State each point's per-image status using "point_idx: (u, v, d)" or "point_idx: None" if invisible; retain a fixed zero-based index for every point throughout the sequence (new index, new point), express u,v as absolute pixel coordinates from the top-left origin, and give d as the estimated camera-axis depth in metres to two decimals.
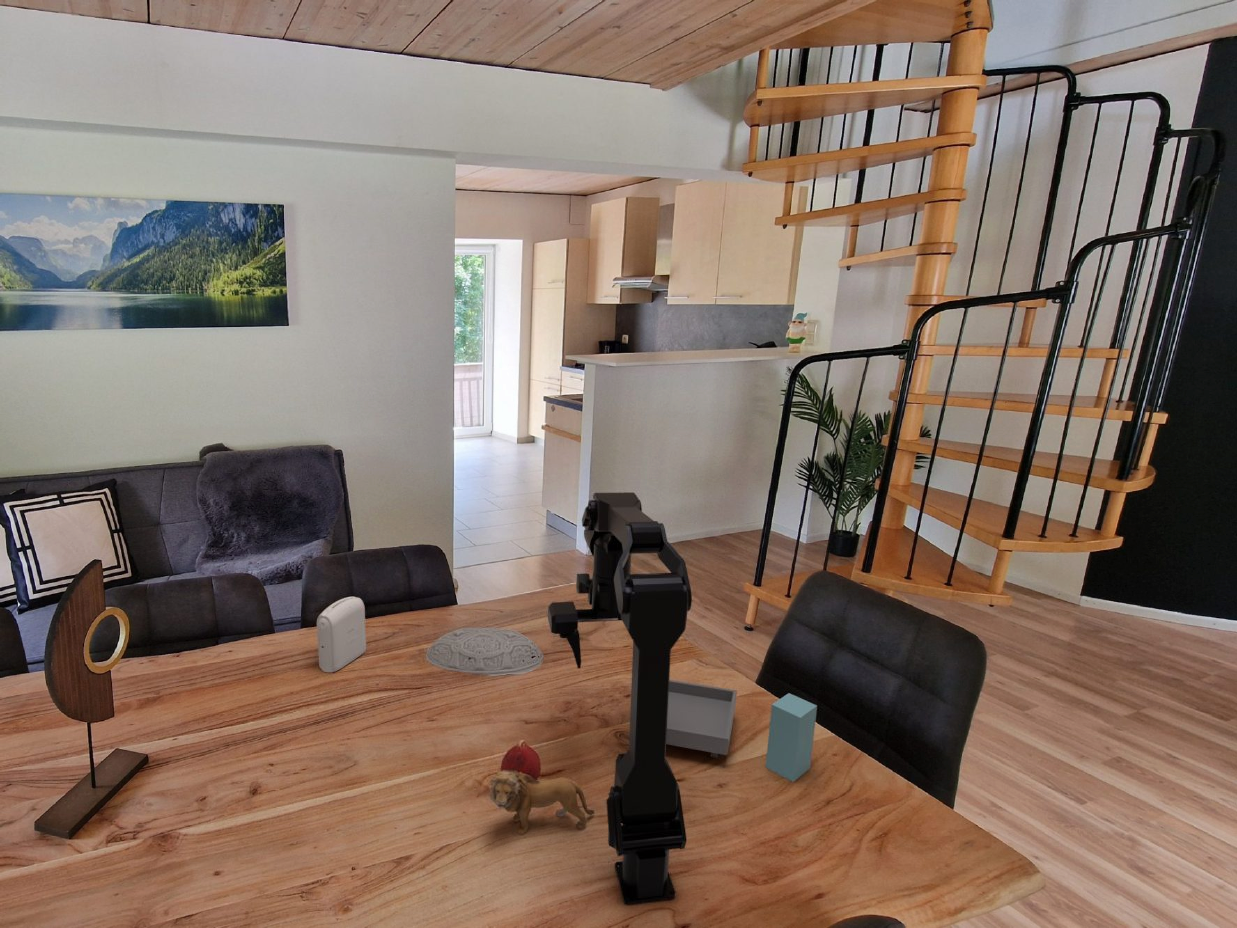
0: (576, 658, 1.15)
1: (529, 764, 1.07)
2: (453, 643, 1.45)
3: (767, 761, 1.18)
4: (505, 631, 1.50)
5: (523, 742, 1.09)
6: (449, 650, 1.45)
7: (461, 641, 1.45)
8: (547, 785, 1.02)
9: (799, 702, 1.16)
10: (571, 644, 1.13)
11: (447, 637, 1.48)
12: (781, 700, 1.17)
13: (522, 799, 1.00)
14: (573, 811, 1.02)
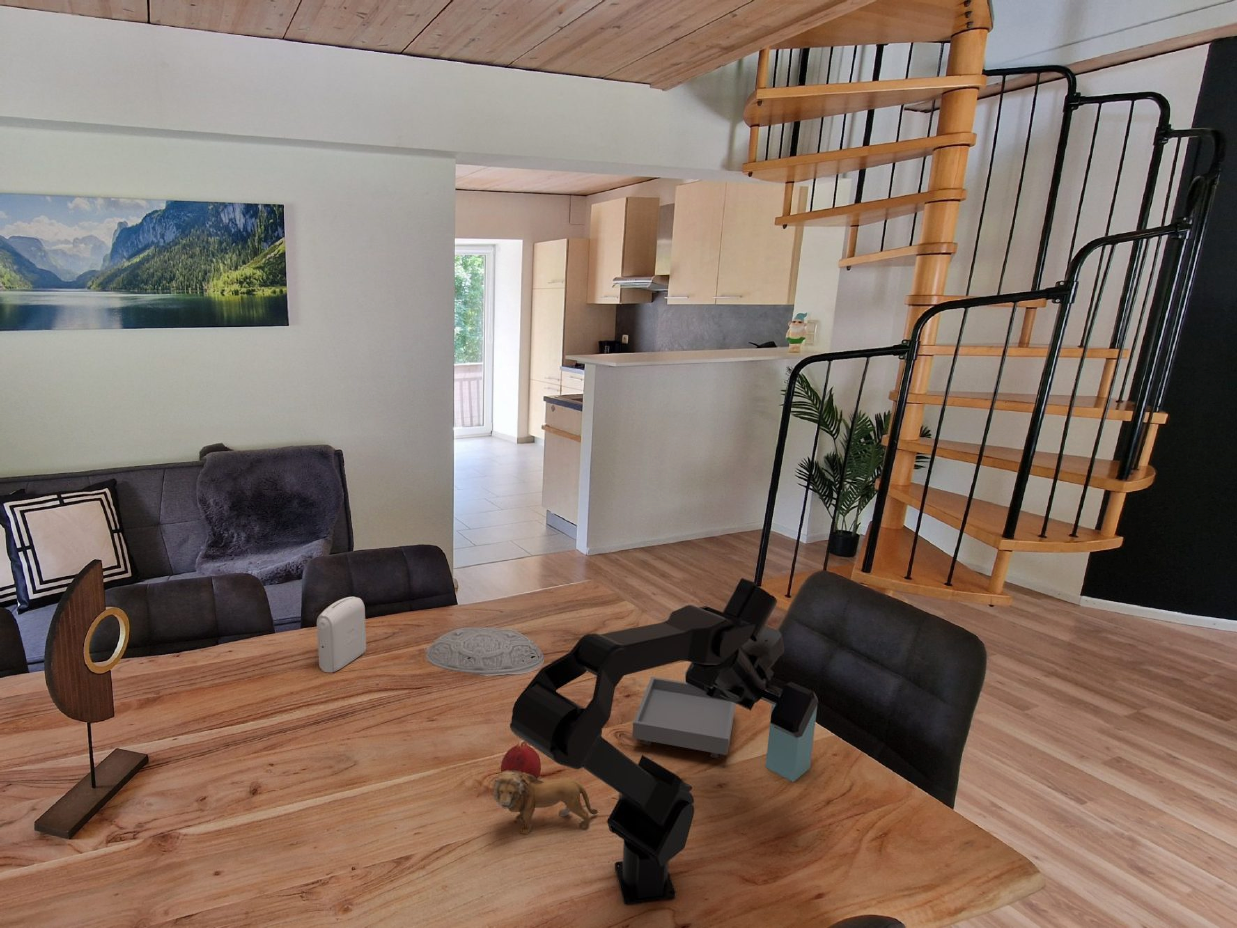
0: None
1: (529, 764, 1.07)
2: (453, 642, 1.46)
3: (767, 761, 1.18)
4: (505, 631, 1.50)
5: (523, 742, 1.09)
6: (449, 649, 1.45)
7: (460, 640, 1.46)
8: (550, 784, 1.02)
9: None
10: None
11: (447, 636, 1.48)
12: None
13: (526, 800, 1.00)
14: (577, 811, 1.02)
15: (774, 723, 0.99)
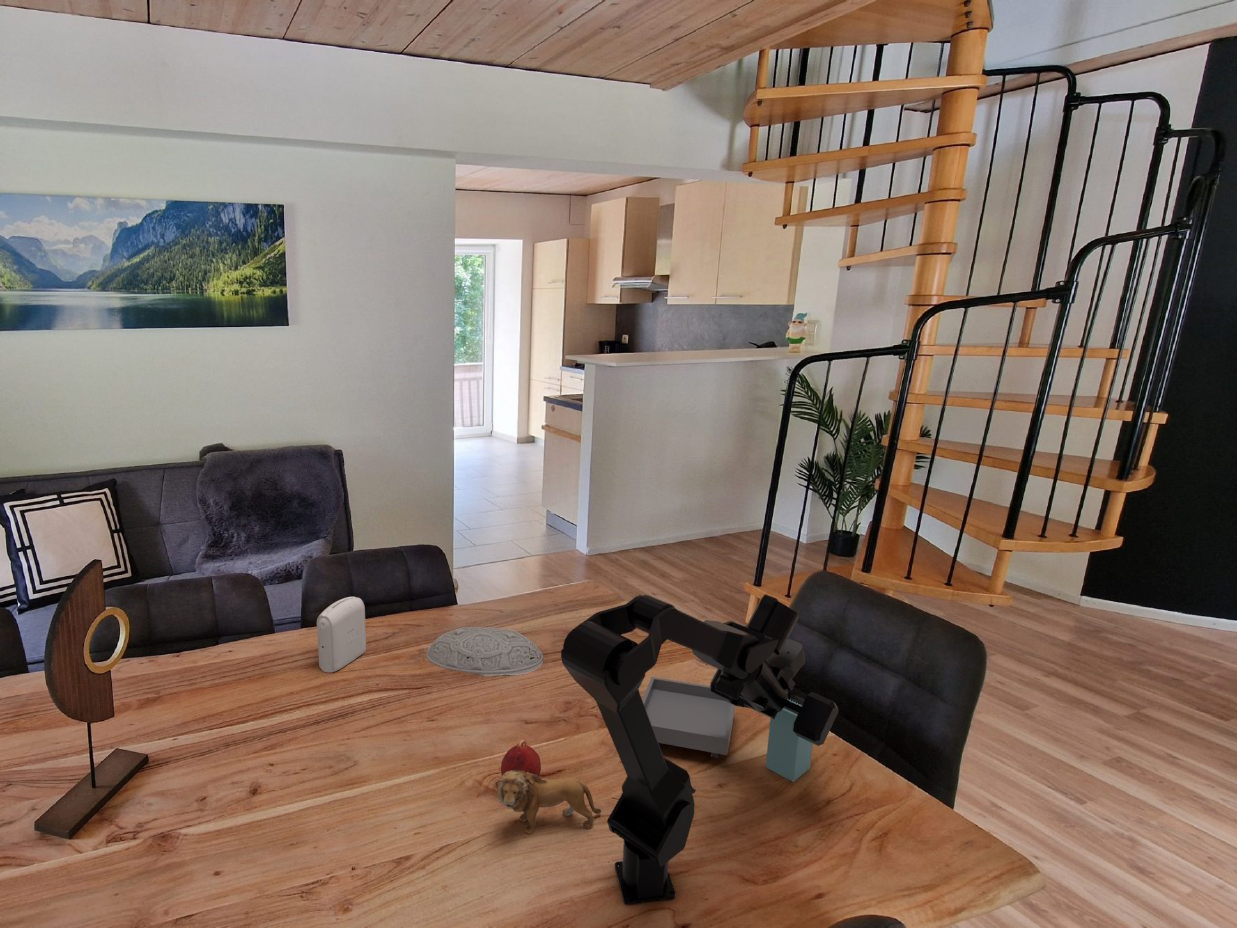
0: None
1: (529, 764, 1.07)
2: (452, 642, 1.46)
3: (767, 761, 1.18)
4: (505, 631, 1.49)
5: (523, 742, 1.09)
6: (448, 648, 1.45)
7: (460, 640, 1.46)
8: (554, 784, 1.02)
9: None
10: None
11: (448, 635, 1.48)
12: None
13: (530, 799, 1.00)
14: (580, 810, 1.02)
15: (797, 732, 1.04)
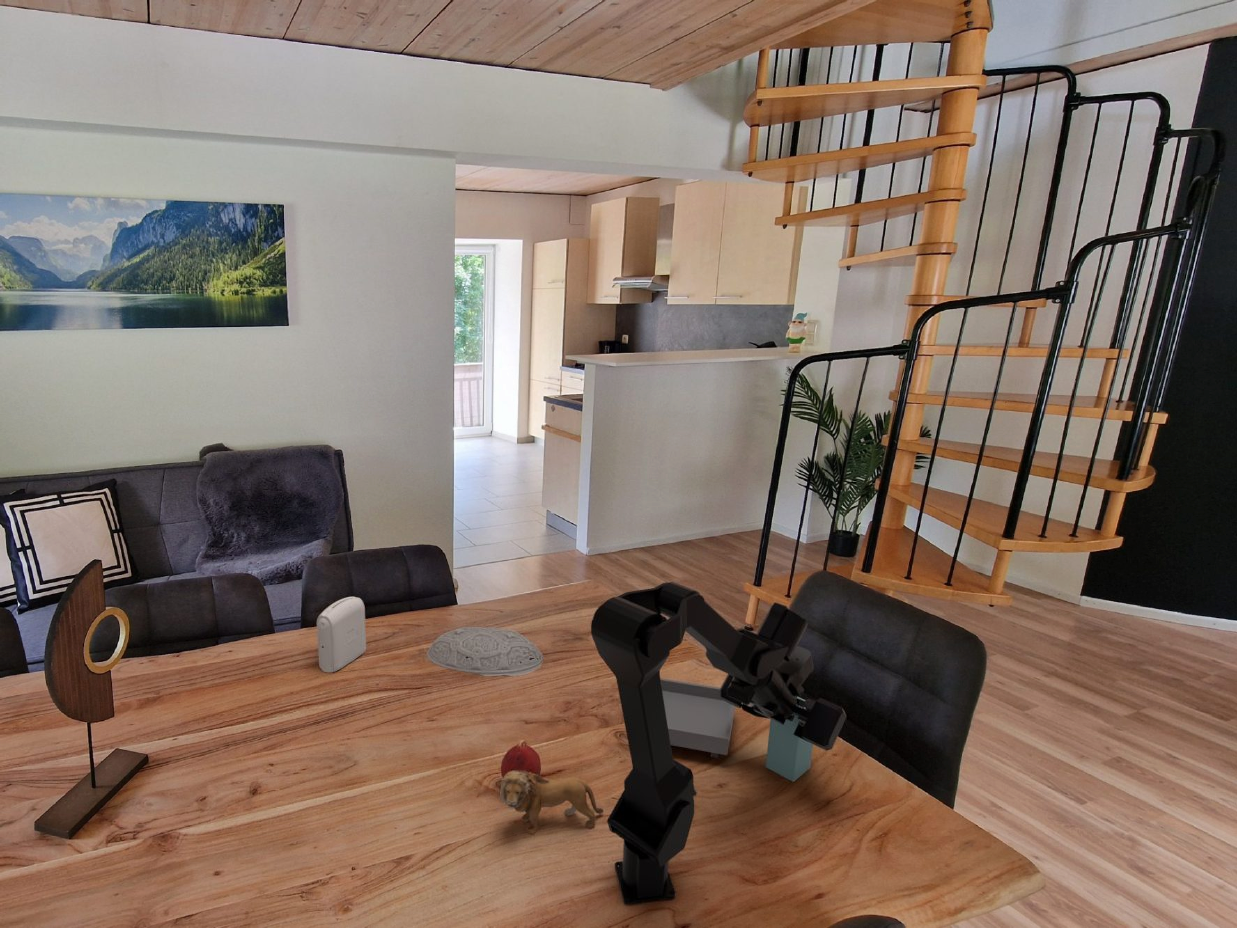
0: None
1: (529, 764, 1.07)
2: (452, 641, 1.46)
3: (767, 761, 1.18)
4: (505, 632, 1.49)
5: (524, 742, 1.09)
6: (448, 648, 1.46)
7: (460, 640, 1.46)
8: (556, 784, 1.02)
9: None
10: None
11: (448, 635, 1.49)
12: None
13: (532, 799, 1.00)
14: (583, 810, 1.02)
15: (805, 737, 1.06)
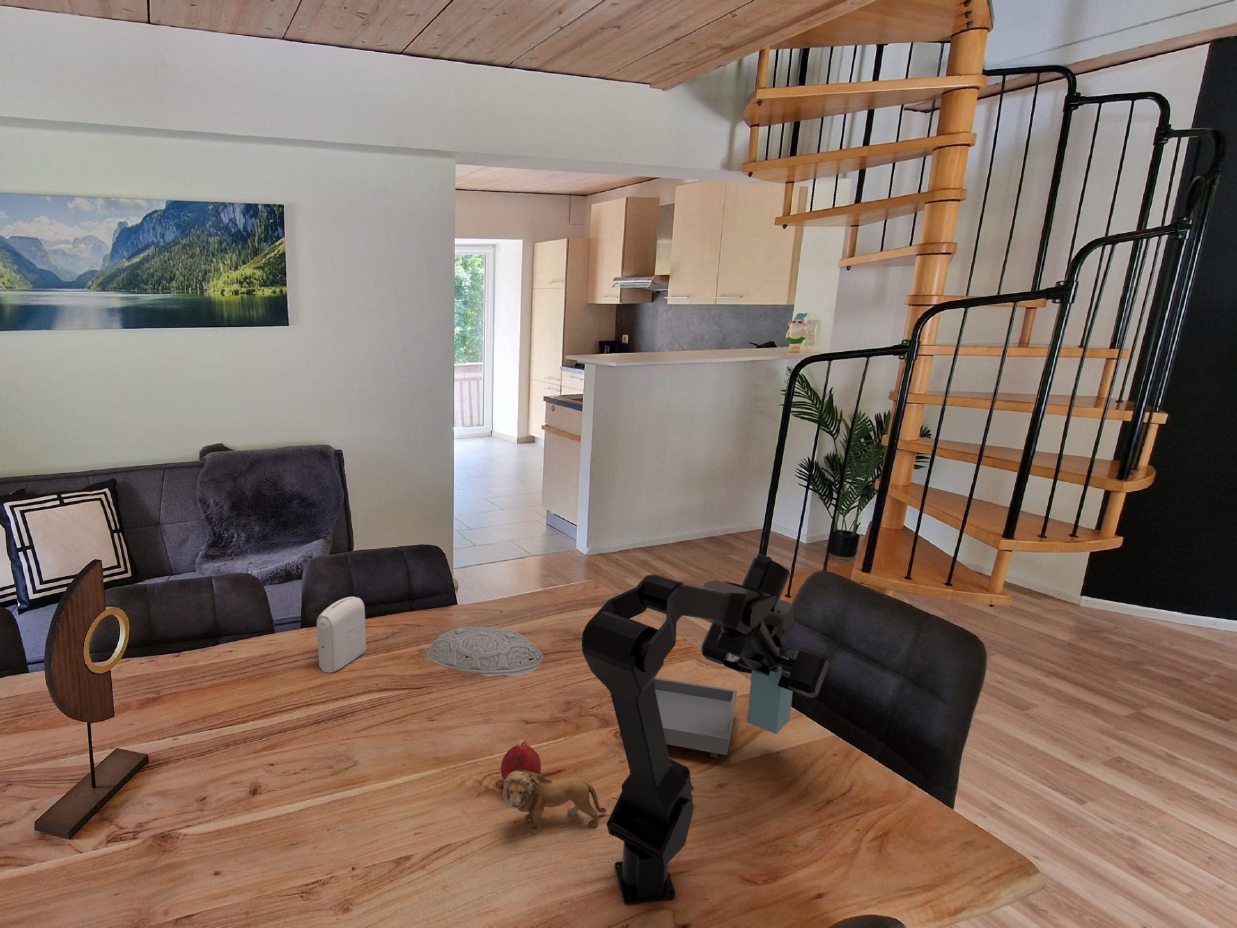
0: None
1: (529, 764, 1.07)
2: (452, 641, 1.46)
3: (748, 716, 1.18)
4: (506, 632, 1.49)
5: (523, 742, 1.09)
6: (448, 647, 1.46)
7: (460, 639, 1.46)
8: (559, 784, 1.02)
9: None
10: None
11: (448, 634, 1.49)
12: None
13: (535, 799, 1.00)
14: (586, 809, 1.02)
15: (791, 686, 1.08)
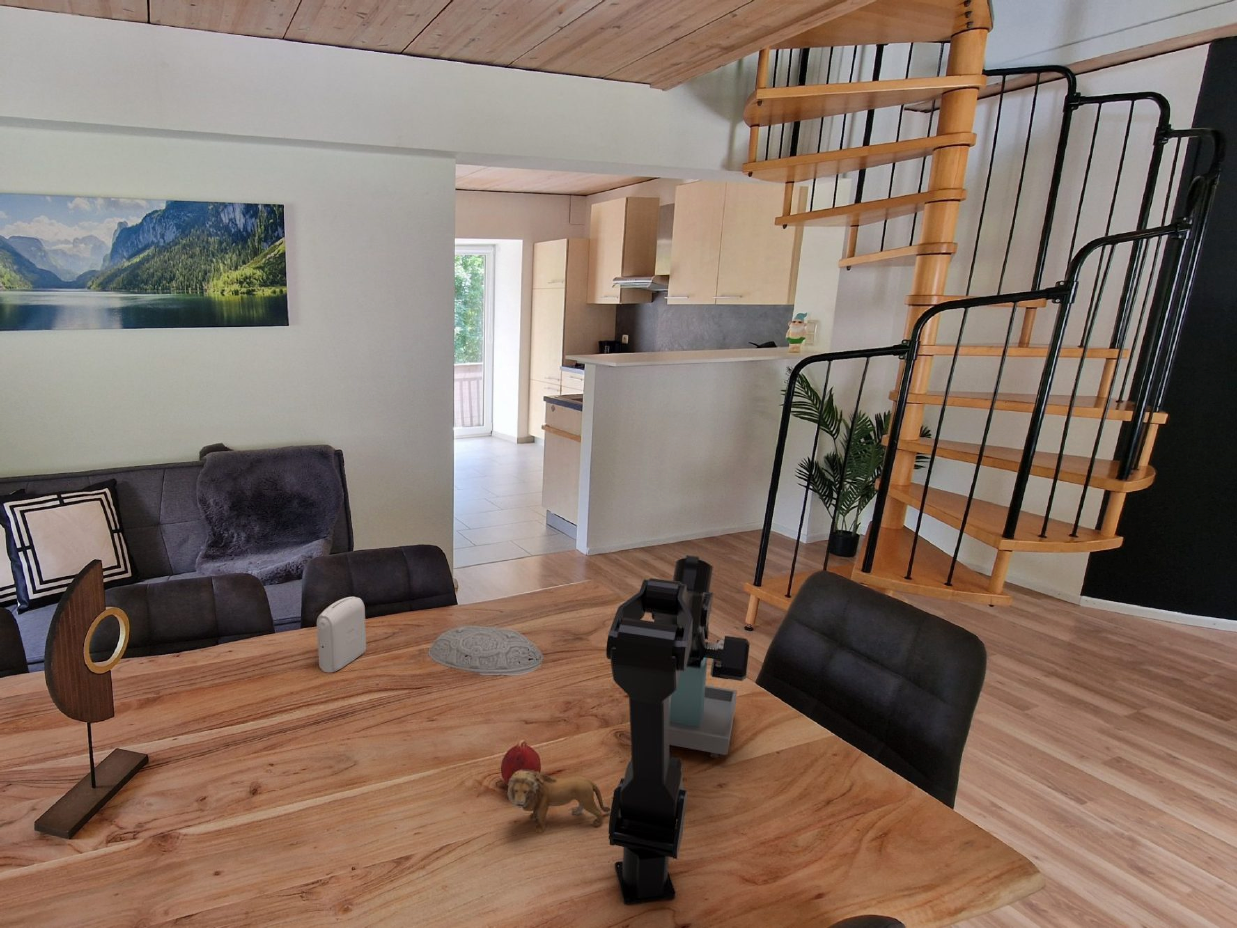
0: None
1: (529, 764, 1.07)
2: (453, 639, 1.47)
3: (671, 715, 1.23)
4: (506, 631, 1.50)
5: (523, 742, 1.09)
6: (448, 646, 1.46)
7: (460, 638, 1.47)
8: (564, 783, 1.02)
9: None
10: None
11: (449, 633, 1.50)
12: None
13: (540, 799, 1.01)
14: (590, 809, 1.03)
15: (724, 673, 1.14)
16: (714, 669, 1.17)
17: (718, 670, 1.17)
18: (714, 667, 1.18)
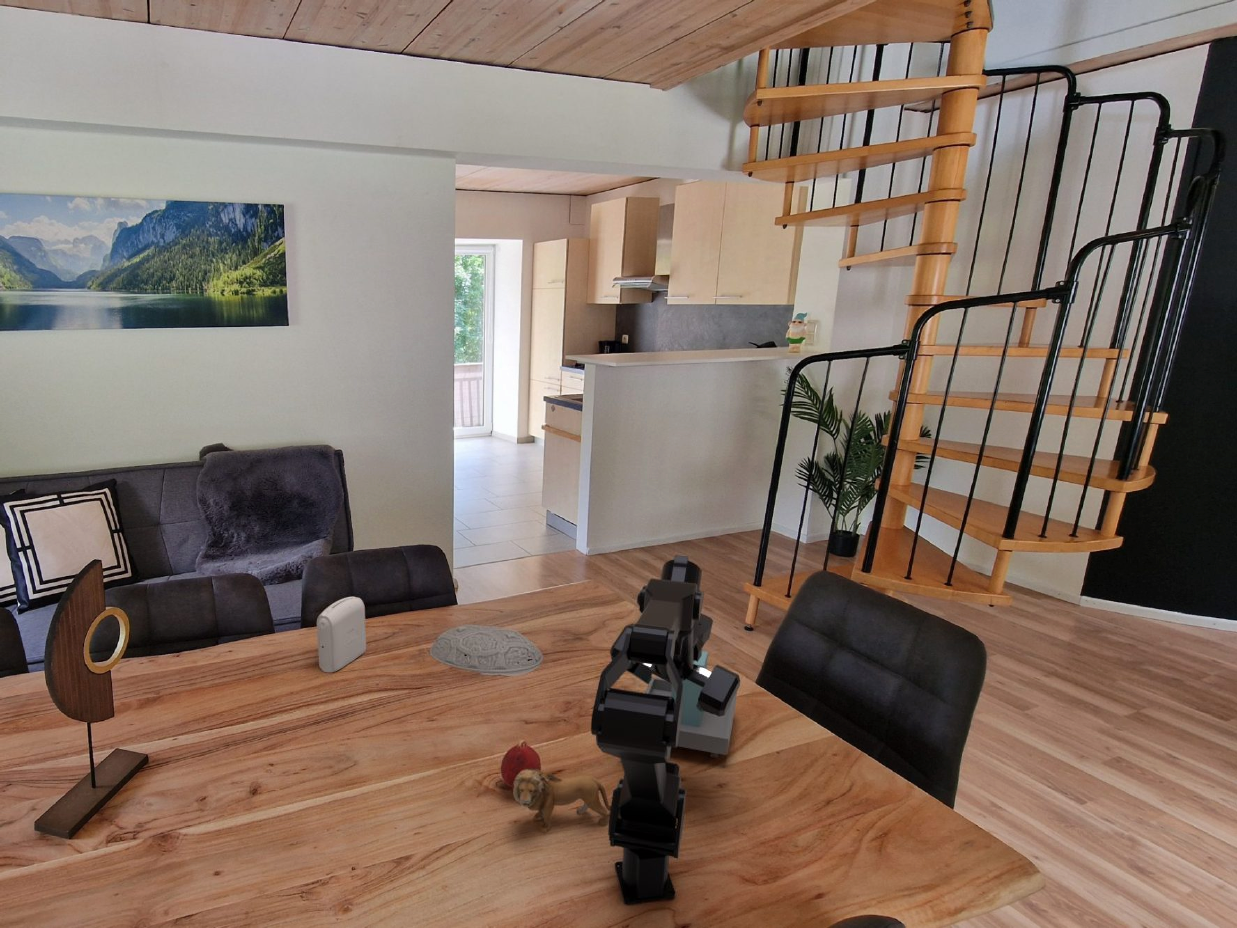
0: (640, 679, 1.15)
1: (529, 764, 1.07)
2: (453, 638, 1.47)
3: None
4: (506, 631, 1.50)
5: (523, 742, 1.09)
6: (448, 645, 1.47)
7: (460, 637, 1.47)
8: (569, 782, 1.03)
9: None
10: (630, 672, 1.12)
11: (450, 632, 1.50)
12: None
13: (545, 798, 1.01)
14: (595, 808, 1.03)
15: (702, 700, 1.04)
16: None
17: None
18: None
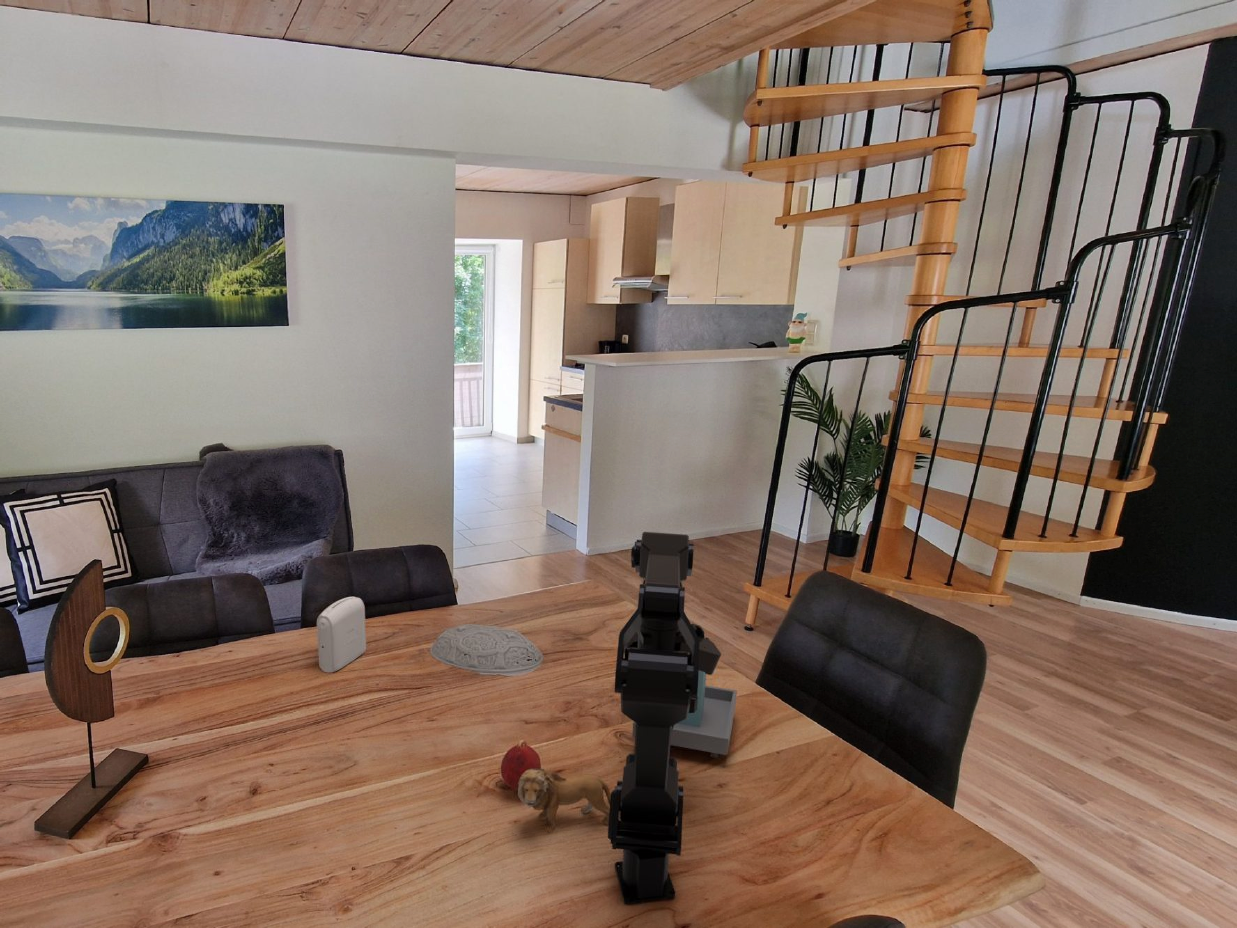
0: None
1: (529, 764, 1.07)
2: (453, 638, 1.48)
3: None
4: (507, 631, 1.50)
5: (523, 742, 1.09)
6: (448, 644, 1.47)
7: (460, 636, 1.47)
8: (573, 782, 1.03)
9: None
10: None
11: (451, 631, 1.50)
12: None
13: (550, 797, 1.01)
14: (600, 807, 1.03)
15: None
16: None
17: None
18: None
